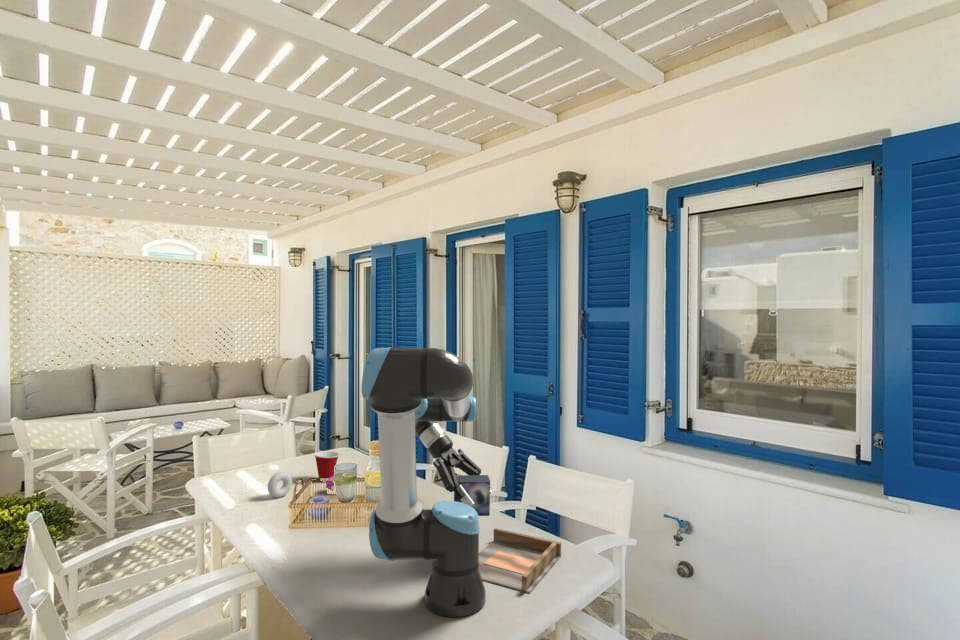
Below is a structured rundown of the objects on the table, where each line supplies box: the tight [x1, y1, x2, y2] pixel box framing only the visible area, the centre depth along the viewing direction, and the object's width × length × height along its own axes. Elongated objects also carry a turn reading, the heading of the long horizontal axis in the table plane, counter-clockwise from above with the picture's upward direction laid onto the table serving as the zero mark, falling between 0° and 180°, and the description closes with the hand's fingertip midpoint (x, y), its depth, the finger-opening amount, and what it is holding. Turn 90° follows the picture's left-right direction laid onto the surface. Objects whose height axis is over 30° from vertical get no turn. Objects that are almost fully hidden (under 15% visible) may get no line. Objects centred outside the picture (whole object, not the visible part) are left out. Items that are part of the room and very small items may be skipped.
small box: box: [453, 474, 491, 517], centre depth 150 cm, size 11×6×10 cm, turn 96°
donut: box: [267, 471, 293, 499], centre depth 199 cm, size 10×4×10 cm, turn 143°
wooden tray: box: [479, 527, 562, 594], centre depth 144 cm, size 24×22×4 cm
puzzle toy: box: [325, 476, 335, 491], centre depth 205 cm, size 6×6×6 cm
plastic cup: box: [313, 450, 340, 479], centre depth 221 cm, size 11×11×12 cm
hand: (480, 500), depth 149 cm, fingers closed on small box, 10 cm apart
